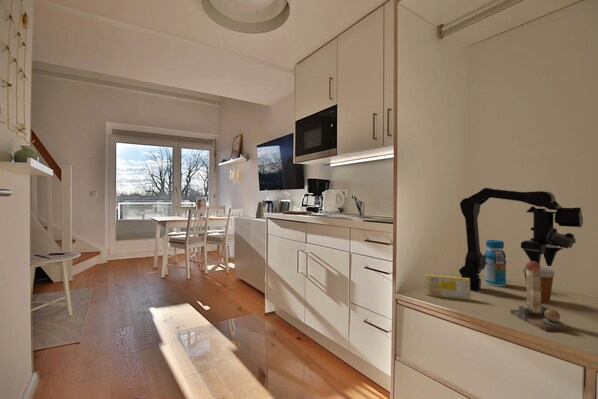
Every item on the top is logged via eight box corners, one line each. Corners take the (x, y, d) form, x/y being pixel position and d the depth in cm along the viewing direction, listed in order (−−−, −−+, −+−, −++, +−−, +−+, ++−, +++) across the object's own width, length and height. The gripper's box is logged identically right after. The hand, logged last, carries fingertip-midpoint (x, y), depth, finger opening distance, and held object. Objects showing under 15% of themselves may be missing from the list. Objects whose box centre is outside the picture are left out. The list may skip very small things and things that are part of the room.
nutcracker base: (510, 313, 98) (509, 296, 98) (533, 313, 98) (532, 296, 98) (545, 331, 84) (545, 312, 84) (572, 330, 84) (572, 311, 84)
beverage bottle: (482, 284, 132) (481, 240, 132) (487, 280, 138) (486, 239, 138) (504, 288, 126) (503, 242, 126) (508, 284, 132) (508, 240, 132)
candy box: (470, 299, 113) (469, 277, 113) (470, 300, 111) (470, 279, 111) (425, 293, 120) (424, 273, 120) (425, 295, 118) (424, 275, 118)
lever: (522, 312, 94) (521, 259, 95) (535, 312, 95) (535, 259, 95) (531, 317, 91) (531, 262, 91) (545, 316, 91) (544, 262, 91)
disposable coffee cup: (561, 305, 105) (561, 272, 105) (532, 303, 107) (531, 271, 107) (545, 296, 114) (544, 266, 114) (518, 295, 116) (517, 265, 116)
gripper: (558, 228, 95) (558, 275, 95) (583, 226, 103) (583, 269, 103) (520, 225, 105) (519, 268, 105) (545, 223, 113) (545, 263, 113)
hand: (543, 267), depth 106 cm, fingers open, 9 cm apart
